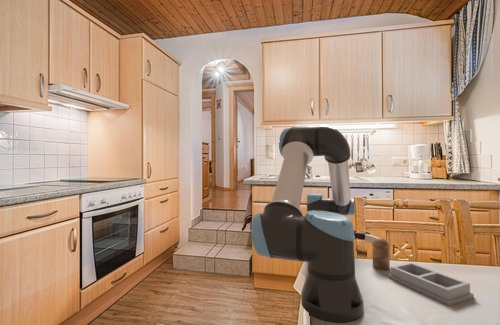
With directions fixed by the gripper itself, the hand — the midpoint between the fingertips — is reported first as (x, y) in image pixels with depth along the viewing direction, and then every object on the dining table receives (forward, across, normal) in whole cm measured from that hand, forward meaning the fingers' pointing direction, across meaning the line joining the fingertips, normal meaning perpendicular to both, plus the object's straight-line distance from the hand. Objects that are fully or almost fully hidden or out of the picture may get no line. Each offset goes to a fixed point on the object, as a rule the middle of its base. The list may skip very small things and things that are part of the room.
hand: (365, 244), depth 97 cm
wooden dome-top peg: (+7, 0, -6) cm, 9 cm away
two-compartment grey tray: (+23, 0, -6) cm, 24 cm away
